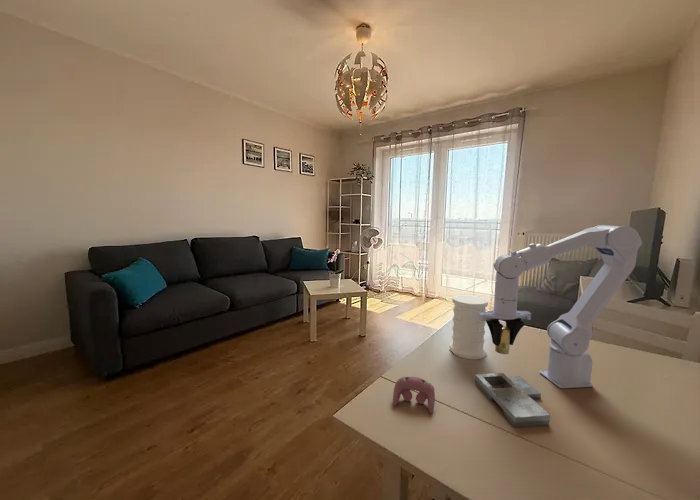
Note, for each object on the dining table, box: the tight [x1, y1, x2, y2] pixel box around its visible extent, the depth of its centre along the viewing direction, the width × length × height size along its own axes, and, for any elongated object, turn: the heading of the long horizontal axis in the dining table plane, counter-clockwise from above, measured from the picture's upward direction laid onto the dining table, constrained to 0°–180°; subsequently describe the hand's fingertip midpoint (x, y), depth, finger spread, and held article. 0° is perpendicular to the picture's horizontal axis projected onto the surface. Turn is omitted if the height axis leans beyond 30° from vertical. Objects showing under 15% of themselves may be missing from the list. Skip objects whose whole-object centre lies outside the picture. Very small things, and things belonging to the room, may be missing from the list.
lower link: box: [474, 375, 542, 402], centre depth 77 cm, size 13×8×1 cm, turn 95°
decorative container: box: [449, 294, 489, 360], centre depth 98 cm, size 12×12×18 cm
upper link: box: [474, 372, 551, 428], centre depth 72 cm, size 8×17×2 cm, turn 5°
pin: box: [494, 325, 511, 355], centre depth 84 cm, size 4×4×7 cm
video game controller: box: [392, 376, 436, 414], centre depth 72 cm, size 10×5×7 cm, turn 71°
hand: (502, 343), depth 84 cm, fingers closed on pin, 4 cm apart
